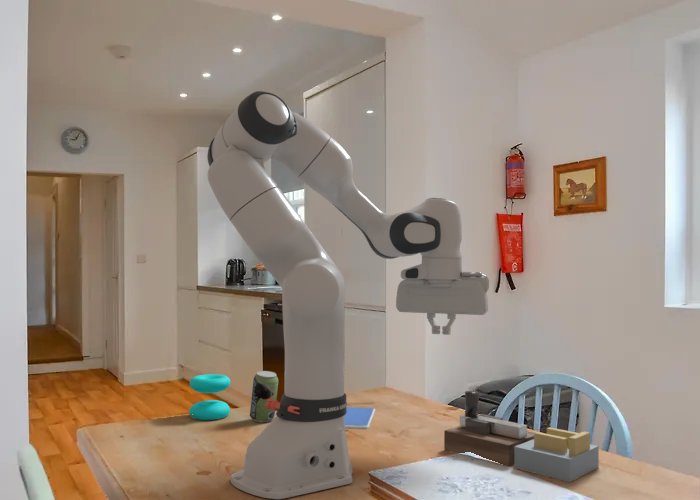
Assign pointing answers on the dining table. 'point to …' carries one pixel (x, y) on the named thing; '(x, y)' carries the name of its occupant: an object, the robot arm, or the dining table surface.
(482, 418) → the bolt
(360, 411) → the tablet computer
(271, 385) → the beverage can
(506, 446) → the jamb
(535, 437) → the stacked blocks
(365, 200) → the robot arm
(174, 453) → the dining table surface
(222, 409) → the donuts
